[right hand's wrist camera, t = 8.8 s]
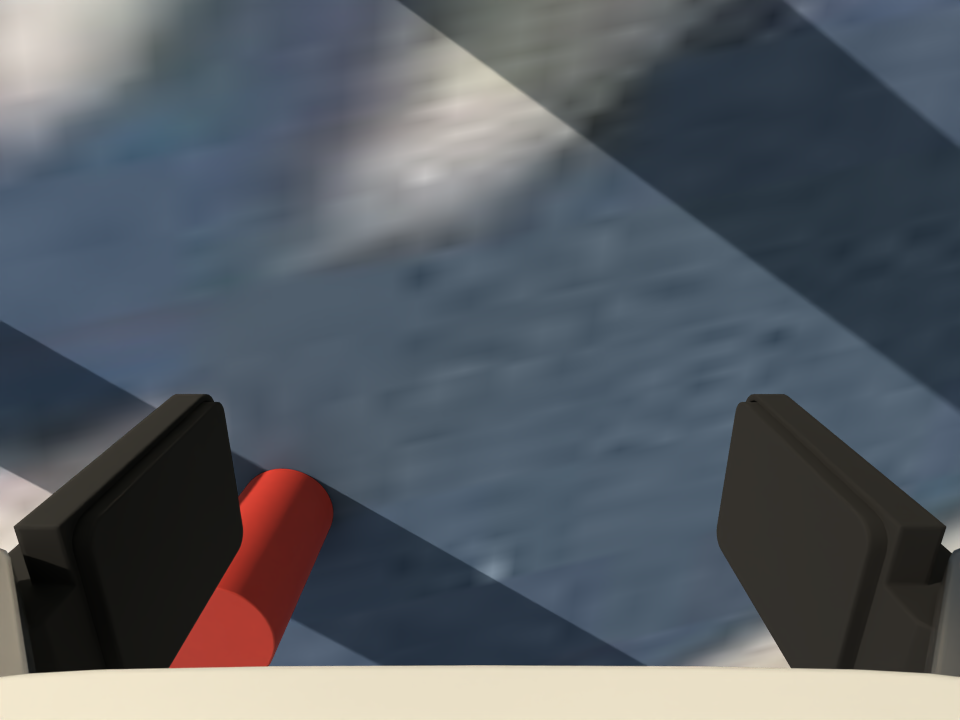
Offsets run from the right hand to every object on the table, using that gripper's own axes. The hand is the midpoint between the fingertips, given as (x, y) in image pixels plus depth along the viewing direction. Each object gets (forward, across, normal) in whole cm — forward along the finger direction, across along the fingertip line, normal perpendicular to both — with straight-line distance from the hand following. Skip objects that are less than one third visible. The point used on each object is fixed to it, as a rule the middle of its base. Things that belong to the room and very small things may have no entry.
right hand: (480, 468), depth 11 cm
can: (+20, -11, -15) cm, 28 cm away
